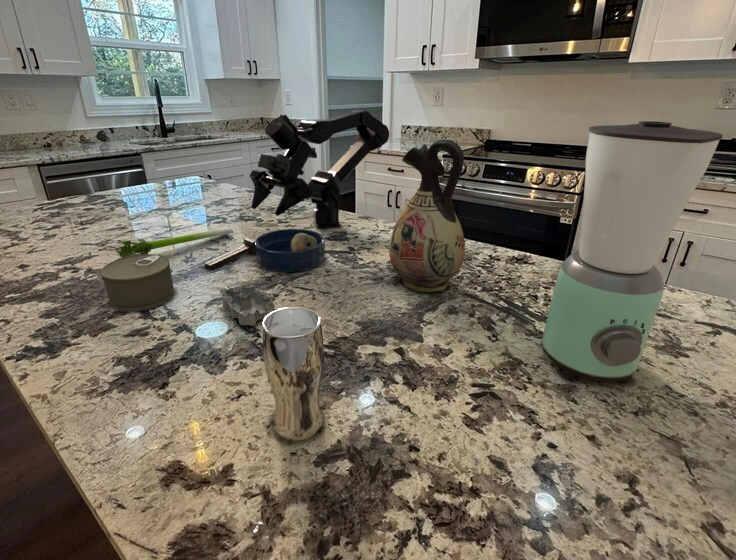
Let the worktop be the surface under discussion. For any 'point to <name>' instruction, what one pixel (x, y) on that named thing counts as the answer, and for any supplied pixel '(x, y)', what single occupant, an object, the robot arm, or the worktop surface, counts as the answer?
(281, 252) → the bowl
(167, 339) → the worktop surface
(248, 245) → the dark brown piece
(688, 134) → the blender
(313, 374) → the beer glass
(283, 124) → the robot arm
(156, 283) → the can
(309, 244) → the apple
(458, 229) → the ceramic jug
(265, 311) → the egg carton
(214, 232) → the celery stalk
